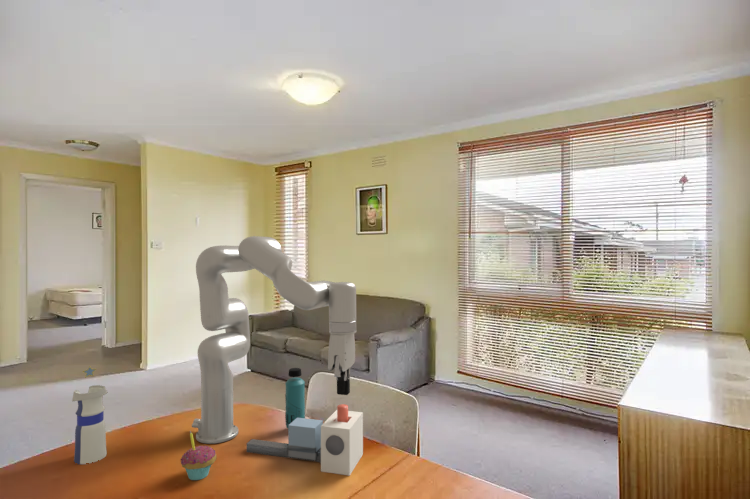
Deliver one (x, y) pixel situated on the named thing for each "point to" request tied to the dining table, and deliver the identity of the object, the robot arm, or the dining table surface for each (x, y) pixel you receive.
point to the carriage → (304, 438)
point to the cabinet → (341, 443)
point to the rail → (274, 449)
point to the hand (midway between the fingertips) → (343, 393)
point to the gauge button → (342, 413)
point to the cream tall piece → (90, 424)
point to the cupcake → (198, 460)
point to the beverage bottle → (294, 396)
